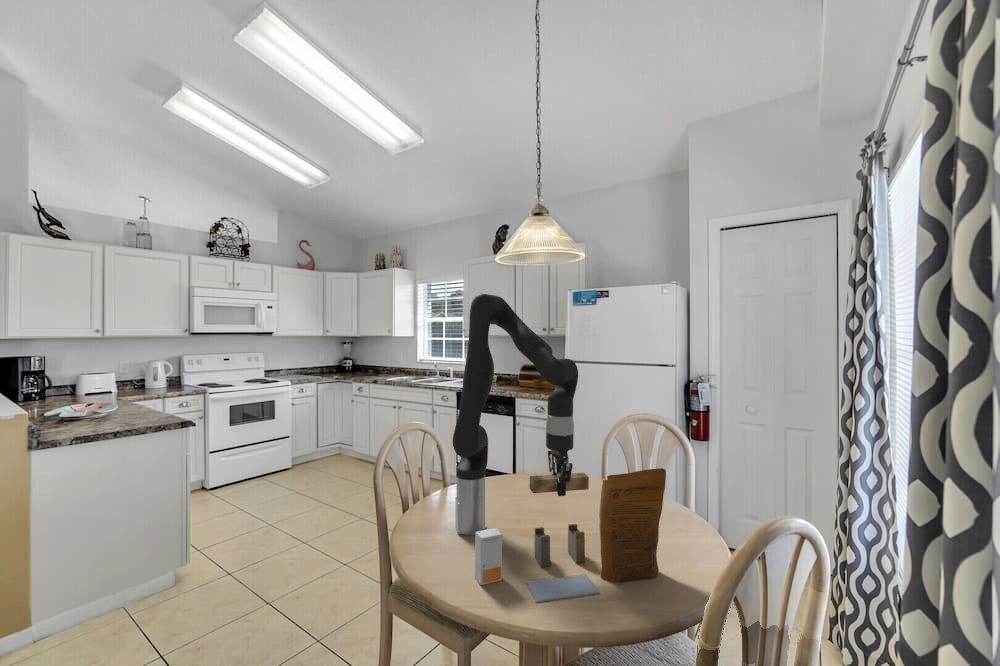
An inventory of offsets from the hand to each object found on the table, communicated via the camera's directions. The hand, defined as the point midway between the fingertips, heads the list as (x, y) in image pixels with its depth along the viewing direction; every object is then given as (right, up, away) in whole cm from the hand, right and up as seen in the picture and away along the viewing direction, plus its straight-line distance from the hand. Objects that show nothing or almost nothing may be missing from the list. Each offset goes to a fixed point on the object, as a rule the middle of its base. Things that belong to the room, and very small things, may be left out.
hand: (558, 492), depth 122 cm
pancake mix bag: (+18, -19, -8) cm, 27 cm away
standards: (0, -19, 0) cm, 19 cm away
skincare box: (-19, -19, -9) cm, 29 cm away
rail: (0, +1, 0) cm, 1 cm away
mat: (-1, -19, -13) cm, 23 cm away
